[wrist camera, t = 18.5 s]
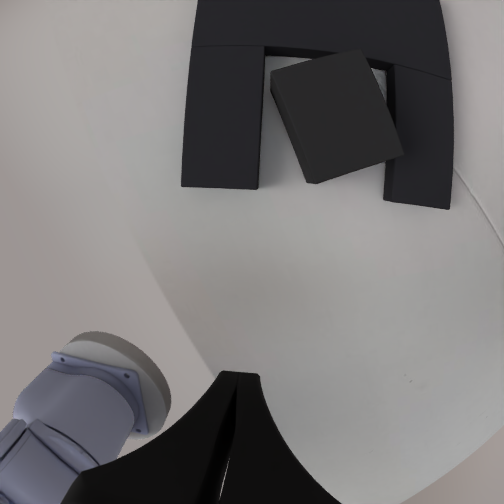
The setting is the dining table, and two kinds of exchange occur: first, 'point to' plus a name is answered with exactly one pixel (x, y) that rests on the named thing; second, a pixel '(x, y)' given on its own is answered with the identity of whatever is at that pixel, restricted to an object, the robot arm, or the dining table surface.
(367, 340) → the dining table surface
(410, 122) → the base pad
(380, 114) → the small block
